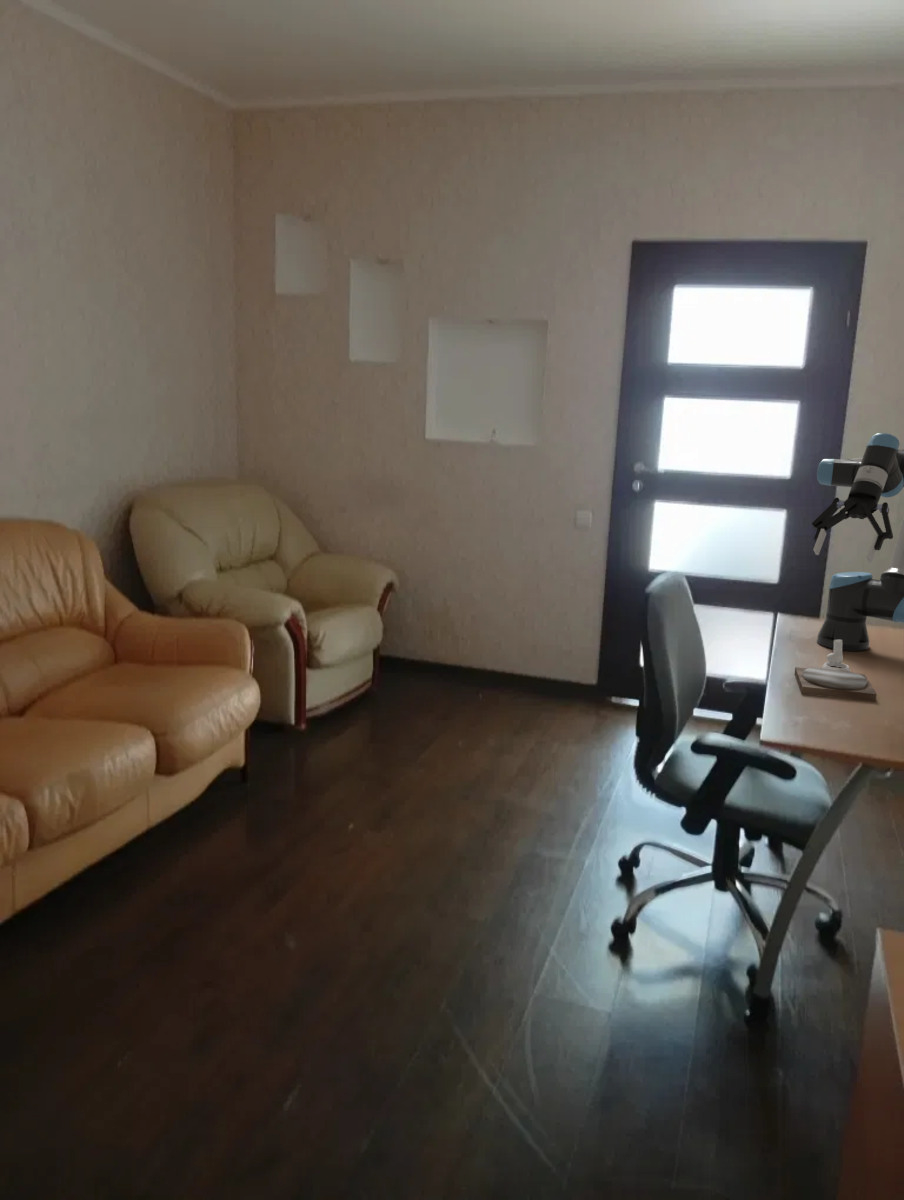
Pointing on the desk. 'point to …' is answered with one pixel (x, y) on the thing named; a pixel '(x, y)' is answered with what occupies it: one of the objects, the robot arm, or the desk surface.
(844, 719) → the desk surface
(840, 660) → the white vr controller
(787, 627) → the desk surface
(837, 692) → the rosette stand
